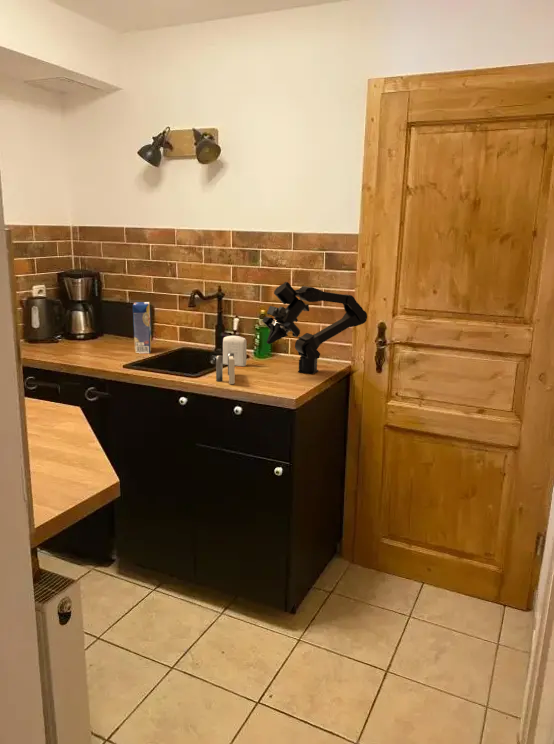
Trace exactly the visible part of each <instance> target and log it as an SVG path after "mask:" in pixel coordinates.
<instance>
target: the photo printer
mask: <svg viewBox="0 0 554 744" xmlns="http://www.w3.org/2000/svg"><path fill="white" fill-rule="evenodd" d="M228 353H234V359H235V366H239V367H246V366H247V339H246V338H245V337H243V336H238V335H226V336H224V337H223V338H222V357H223V365H227V366H228Z"/></svg>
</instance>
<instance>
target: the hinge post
mask: <svg viewBox="0 0 554 744" xmlns="http://www.w3.org/2000/svg"><path fill="white" fill-rule="evenodd" d="M229 356H233V358H234V353H228V365H227V376H229Z"/></svg>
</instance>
